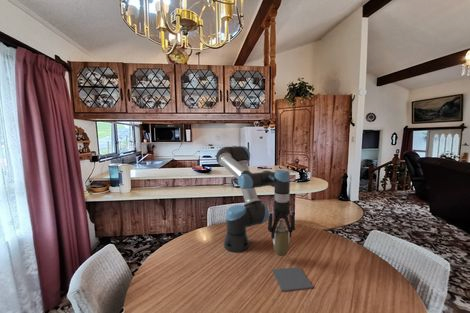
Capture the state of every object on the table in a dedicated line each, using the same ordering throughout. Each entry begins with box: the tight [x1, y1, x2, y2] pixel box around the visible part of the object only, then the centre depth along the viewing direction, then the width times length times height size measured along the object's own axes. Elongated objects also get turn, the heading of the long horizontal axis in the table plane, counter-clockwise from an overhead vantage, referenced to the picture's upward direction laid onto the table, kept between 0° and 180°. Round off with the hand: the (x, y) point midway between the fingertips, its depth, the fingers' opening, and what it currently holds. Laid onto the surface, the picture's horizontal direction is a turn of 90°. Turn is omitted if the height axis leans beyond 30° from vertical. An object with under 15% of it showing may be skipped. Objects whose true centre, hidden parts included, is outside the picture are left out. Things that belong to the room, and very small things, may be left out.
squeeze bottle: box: [273, 219, 290, 257], centre depth 111 cm, size 8×8×18 cm
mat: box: [271, 266, 314, 292], centre depth 98 cm, size 14×14×1 cm
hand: (281, 243), depth 111 cm, fingers closed on squeeze bottle, 6 cm apart
